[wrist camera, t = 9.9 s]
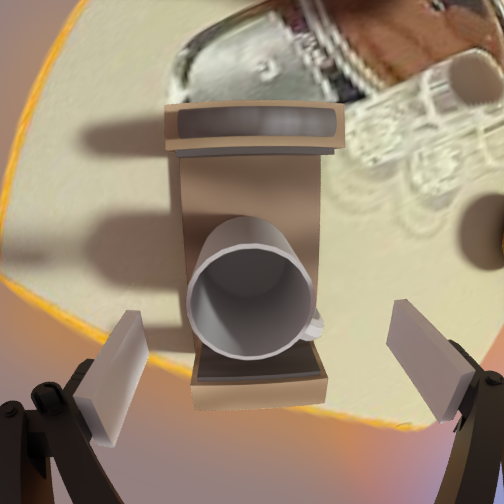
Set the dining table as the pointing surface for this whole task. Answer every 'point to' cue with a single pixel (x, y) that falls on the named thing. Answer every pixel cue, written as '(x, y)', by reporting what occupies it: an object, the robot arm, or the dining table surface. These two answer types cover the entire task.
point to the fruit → (503, 242)
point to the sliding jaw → (254, 128)
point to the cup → (251, 292)
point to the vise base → (301, 241)
